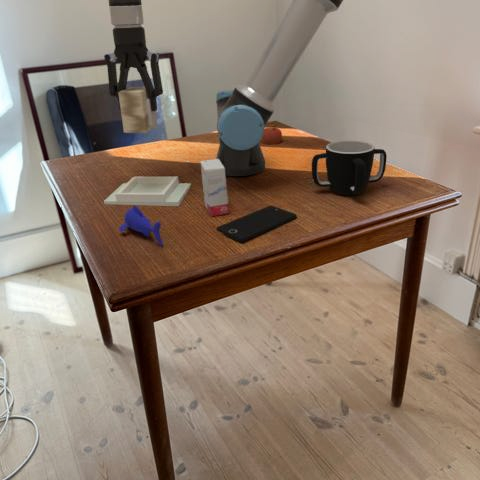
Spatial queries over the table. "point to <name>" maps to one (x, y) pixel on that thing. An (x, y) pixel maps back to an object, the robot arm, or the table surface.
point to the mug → (349, 166)
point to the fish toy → (141, 223)
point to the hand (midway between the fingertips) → (140, 123)
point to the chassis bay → (150, 192)
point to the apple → (271, 135)
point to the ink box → (214, 187)
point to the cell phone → (256, 223)
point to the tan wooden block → (135, 110)
